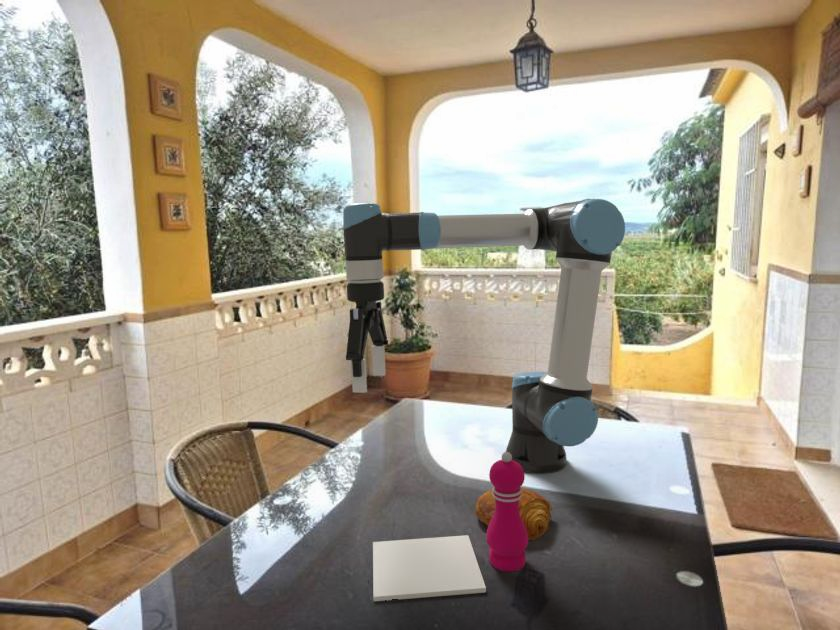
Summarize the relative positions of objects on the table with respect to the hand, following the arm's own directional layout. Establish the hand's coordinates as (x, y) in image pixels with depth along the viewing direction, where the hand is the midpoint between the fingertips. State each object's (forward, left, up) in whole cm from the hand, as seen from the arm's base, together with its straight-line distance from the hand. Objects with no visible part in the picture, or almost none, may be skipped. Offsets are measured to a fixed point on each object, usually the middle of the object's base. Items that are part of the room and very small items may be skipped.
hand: (370, 383), depth 113 cm
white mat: (-9, +23, -27) cm, 37 cm away
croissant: (-28, +10, -28) cm, 41 cm away
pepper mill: (-23, +23, -27) cm, 43 cm away
